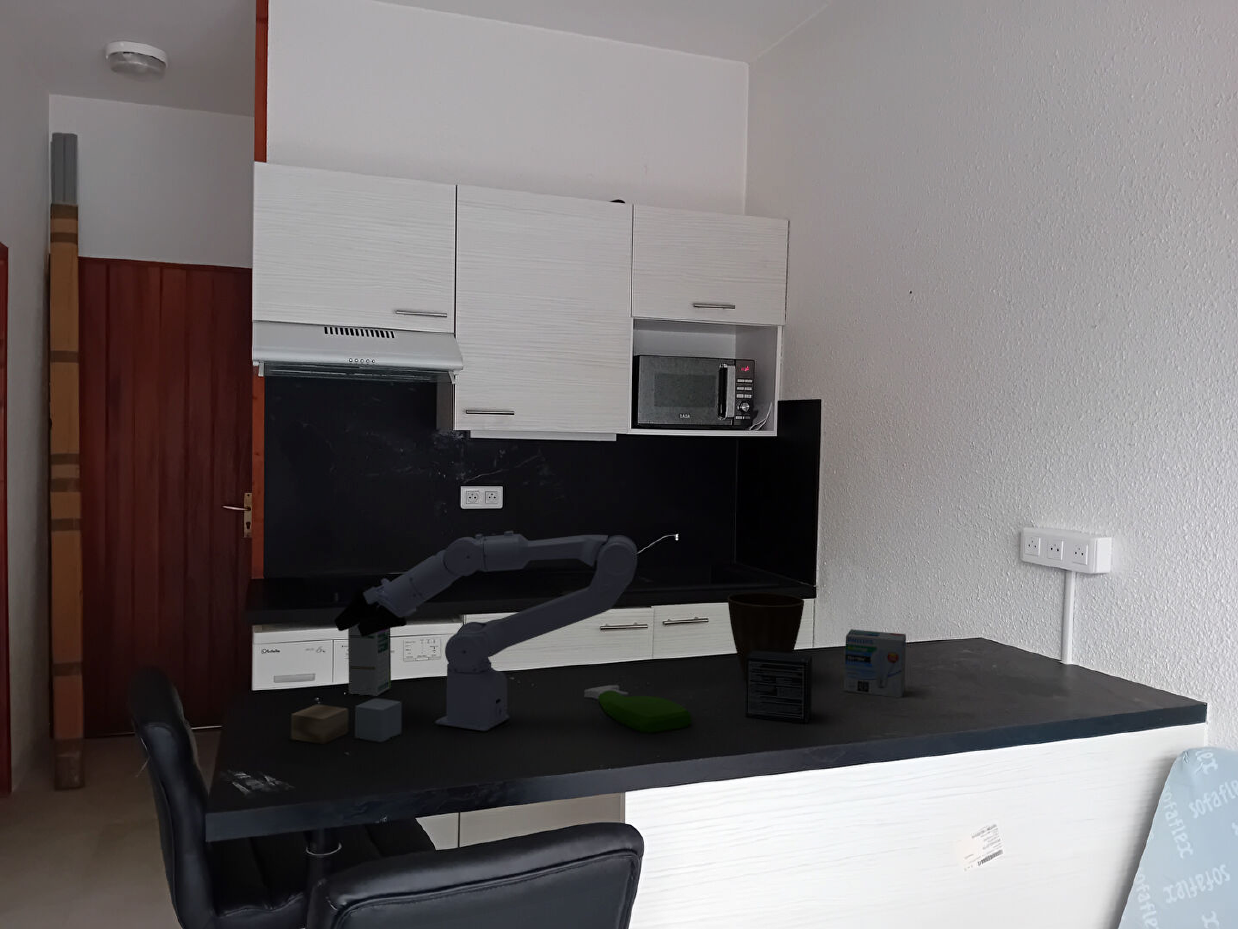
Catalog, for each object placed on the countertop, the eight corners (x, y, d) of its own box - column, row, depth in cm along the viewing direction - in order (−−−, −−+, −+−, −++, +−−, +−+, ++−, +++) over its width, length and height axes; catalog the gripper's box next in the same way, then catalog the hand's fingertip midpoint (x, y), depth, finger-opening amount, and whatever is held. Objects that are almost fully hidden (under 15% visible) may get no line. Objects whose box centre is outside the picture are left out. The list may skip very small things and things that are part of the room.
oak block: (348, 734, 145) (348, 708, 145) (322, 745, 140) (322, 719, 140) (317, 729, 148) (317, 704, 148) (291, 740, 142) (291, 714, 142)
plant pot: (817, 679, 183) (818, 598, 182) (776, 694, 172) (778, 608, 171) (753, 666, 193) (754, 590, 192) (711, 679, 181) (712, 598, 181)
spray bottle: (641, 737, 146) (570, 701, 167) (697, 728, 152) (623, 694, 173) (641, 719, 146) (571, 685, 167) (698, 710, 152) (623, 678, 173)
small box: (812, 714, 159) (813, 653, 159) (807, 725, 153) (808, 661, 153) (751, 707, 163) (752, 648, 162) (744, 718, 156) (745, 656, 156)
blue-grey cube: (401, 733, 146) (401, 701, 146) (381, 742, 141) (381, 710, 141) (375, 729, 148) (375, 698, 148) (355, 738, 143) (355, 706, 143)
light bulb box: (843, 692, 174) (844, 634, 174) (848, 683, 180) (849, 628, 180) (902, 698, 170) (903, 640, 170) (905, 689, 176) (906, 633, 176)
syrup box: (377, 697, 166) (378, 616, 166) (347, 694, 167) (347, 614, 167) (391, 688, 172) (392, 610, 171) (362, 686, 173) (362, 609, 172)
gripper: (426, 572, 160) (360, 614, 160) (388, 556, 146) (317, 601, 147) (443, 607, 157) (376, 649, 158) (406, 593, 144) (333, 639, 144)
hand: (349, 628), depth 152 cm, fingers open, 7 cm apart
